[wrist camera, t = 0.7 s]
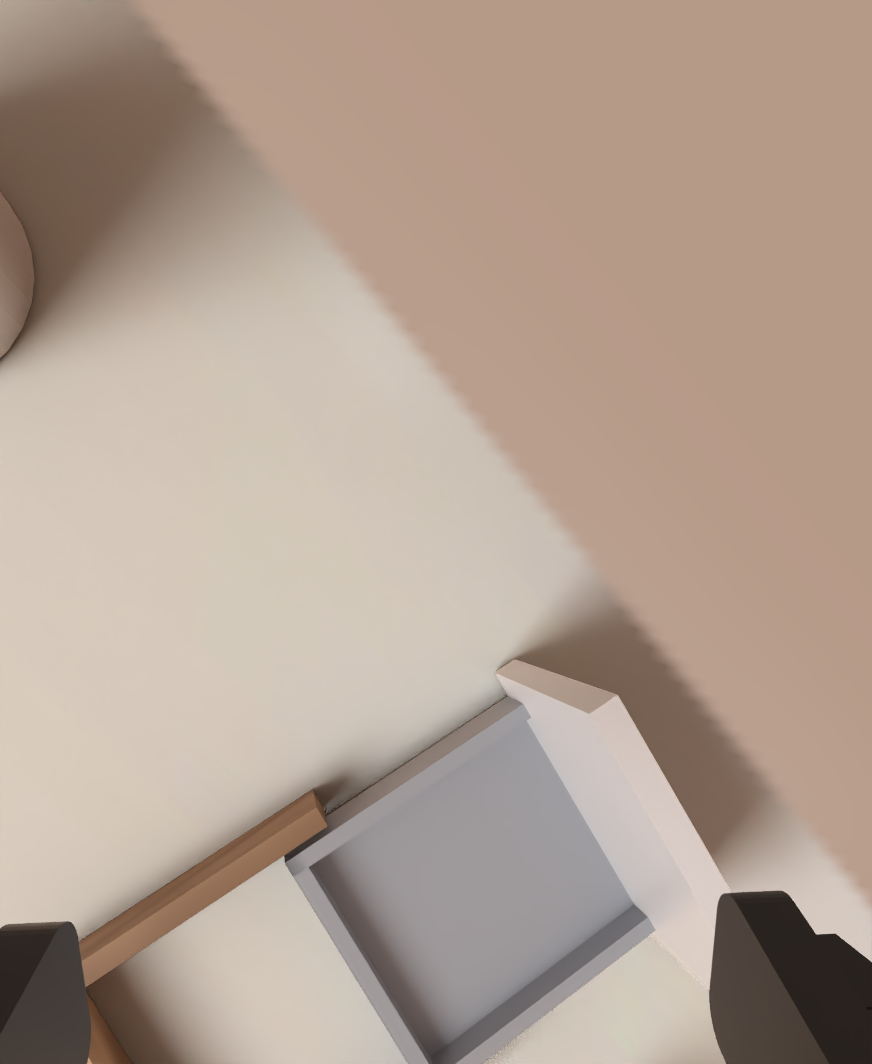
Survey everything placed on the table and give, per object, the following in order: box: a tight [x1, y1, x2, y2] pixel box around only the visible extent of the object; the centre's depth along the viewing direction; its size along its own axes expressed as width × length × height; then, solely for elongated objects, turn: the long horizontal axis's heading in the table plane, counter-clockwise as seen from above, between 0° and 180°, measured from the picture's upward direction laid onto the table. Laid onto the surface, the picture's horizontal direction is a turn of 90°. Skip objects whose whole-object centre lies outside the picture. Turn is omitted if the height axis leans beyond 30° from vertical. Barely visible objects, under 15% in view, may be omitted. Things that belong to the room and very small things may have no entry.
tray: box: [284, 659, 732, 1064], centre depth 27 cm, size 12×11×10 cm
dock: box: [79, 789, 328, 1064], centre depth 29 cm, size 12×11×2 cm
